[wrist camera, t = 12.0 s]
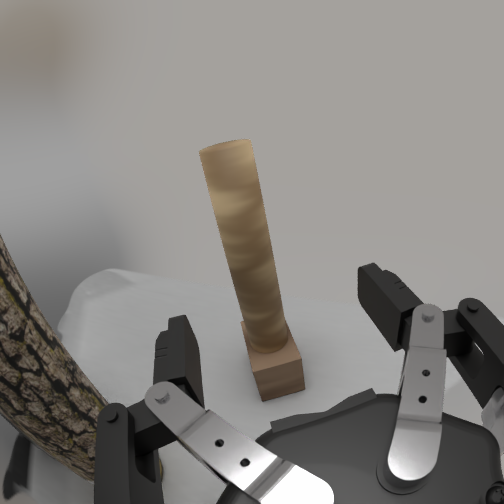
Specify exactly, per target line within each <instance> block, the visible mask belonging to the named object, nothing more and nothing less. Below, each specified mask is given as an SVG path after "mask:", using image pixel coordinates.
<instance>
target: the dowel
mask: <svg viewBox="0 0 504 504" xmlns="http://www.w3.org/2000/svg"><path fill="white" fill-rule="evenodd" d="M199 154H200V158H201V162H202V166H203V170H204V174H205V178H206V182H207V186H208V190H209V194H210V198H211V202H212V206H213V209H214V213H215V217H216V220H217V225H218V228H219V232H220V236H221V239H222V243H223V247H224V251H225V254H226V258H227V262H228V265H229V269H230V273H231V277H232V280H233V284H234V287H235V291H236V295H237V298H238V302H239V305H240V309H241V312H242V316H243V319H244V323H245V326H246V330H247V333H248V337H249V340H250V344H251V346H252V348H253V349H254V350H256V351H257V352H260V353H272V352H276V351H278V350H280V349H281V348H282V347H284V346H285V344H286V343H287V340H288V335H287V329H286V323H285V317H284V312H283V306H282V300H281V295H280V290H279V284H278V279H277V273H276V268H275V262H274V257H273V251H272V246H271V241H270V235H269V230H268V225H267V220H266V214H265V209H264V204H263V199H262V194H261V189H260V184H259V179H258V174H257V169H256V164H255V159H254V154H253V149H252V144H251V140H249V139H242V140H234V141H228V142H223V143H219V144H216V145H212V146H209V147H207V148H204V149H202V150H200V151H199Z"/></svg>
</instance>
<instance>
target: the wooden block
mask: <svg viewBox="0 0 504 504" xmlns="http://www.w3.org/2000/svg"><path fill="white" fill-rule="evenodd" d="M285 323H286V320H285ZM241 326H242V330H243V334H244V338H245V342H246V346H247V351H248V355H249V359H250V363H251V367H252V371H253V374H254V377H255V380H256V384H257V387H258V390H259V393H260V396H261V399H262V401H266V400H270V399H273V398H277V397H281V396H284V395H288V394H291V393H295V392H298V391H301V390H304V389H305V383H304V375H303V367H302V359H301V356H300V354H299V351H298V349H297V347H296V344H295V342H294V339H293V337H292V335H291V332H290V330H289V327H288V325H287V323H286V329H287V335H288V340H287V343H286V344H285V346H284V347H282V348H281V349H280V350H278V351H276V352H272V353H260V352H257V351H256V350H254V349H253V348H252V346H251V344H250V340H249V337H248V333H247V330H246V326H245V323H244V321H242V322H241Z"/></svg>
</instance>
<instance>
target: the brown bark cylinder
mask: <svg viewBox="0 0 504 504" xmlns="http://www.w3.org/2000/svg"><path fill="white" fill-rule="evenodd" d="M108 404H109V403H108V402H107V401H106V400H105V399H104V397H103V396H102V395H101V394H100V393H99V391H98V390H97V389H96V388H95V387H94V385H93V384H92V383H91V382H90V380H89V379H88V378H87V377H86V375H85V374H84V373H83V372H82V370H81V369H80V368H79V366H78V365H77V364H76V362H75V361H74V360H73V358H72V357H71V356H70V354H69V353H68V351H67V350H66V349H65V347H64V346H63V344H62V343H61V341H60V340H59V339H58V337H57V336H56V334H55V333H54V331H53V330H52V328H51V327H50V325H49V324H48V322H47V320H46V319H45V317H44V316H43V314H42V313H41V311H40V309H39V307H38V306H37V304H36V302H35V301H34V299H33V297H32V296H31V294H30V292H29V290H28V289H27V287H26V285H25V283H24V281H23V280H22V278H21V276H20V274H19V272H18V270H17V268H16V266H15V264H14V262H13V260H12V258H11V256H10V254H9V252H8V250H7V248H6V246H5V243H4V241H3V239H2V237H1V235H0V411H1V412H2V413H3V414H4V415H5V416H6V417H7V418H8V419H9V420H10V421H11V422H12V423H13V424H14V425H15V426H17V427H18V428H19V429H20V430H21V431H22V432H23V433H24V434H26V435H27V436H28V437H29V438H30V439H31V440H33V441H34V442H35V443H36V444H37V445H39V446H40V447H41V448H42V449H44V450H45V451H46V452H47V453H49V454H50V455H51V456H53V457H54V458H55V459H57V460H58V461H59V462H61V463H62V464H63V465H65V466H66V467H68V468H69V469H70V470H72V471H73V472H75V473H76V474H78V475H79V476H81V477H82V478H84V479H85V480H87V481H88V482H90V483H91V484H93V485H94V467H95V444H96V429H97V418H98V415H99V413H100V411H101V410H102V409H103V408H104V407H105V406H107V405H108ZM159 464H160V474H162V467H161V462H160V459H159Z"/></svg>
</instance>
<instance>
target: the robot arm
mask: <svg viewBox="0 0 504 504" xmlns="http://www.w3.org/2000/svg"><path fill="white" fill-rule="evenodd" d="M358 299H359V302H360V304H361V306H362V307H363V309H364V310H365V311H366V313H367V314H368V315H369V317H370V318H371V320H372V321H373V322H374V324H375V325H376V326H377V328H378V329H379V331H380V332H381V333H382V335H383V336H384V338H385V339H386V340H387V342H388V343H389V345H390V346H391V347H392V349H393V350H394V352H396V351H398V350H400V349H402V348H403V349H404V351H405V355H404V361H403V367H402V372H401V378H400V383H399V388H398V392H397V395H395V394H375V392H374V391H373V389H372V388H371V389H368V390H366V391H363V392H361V393H358V394H356V395H353V396H350V397H348V398H346V399H345V400H343V401H342V402H340V403H339V404H337V405H336V406H334V407H332V408H331V409H329V410H327V411H325V412H320V413H310V414H298V415H293V416H290V417H286V418H283V419H279V420H276V421H272V422H270V424H271V427H272V429H270V430H269V431H267V432H265V433H264V434H262V435H261V436H260V437H258V438H257V439H256V440H255V441H253V440H252V439H250V438H249V437H247V436H246V435H244V434H243V433H242V432H240V431H239V430H237V429H236V428H235V427H233V426H232V425H230V424H229V423H228V422H226V421H225V420H224V419H222V418H221V417H220V416H218V415H217V414H216V413H214V412H213V411H211V410H207V411H206V410H205V407H204V397H203V387H202V376H201V365H200V353H199V347H198V343H197V340H196V337H195V335H194V333H193V330H192V328H191V326H190V323H189V321H188V319H187V317H186V315H181V316H177V317H172V318H169V322H168V330H167V331H162V332H160V334H159V336H158V338H157V340H156V345H155V359H154V376H153V386H151V387H150V388H149V389H148V391H147V392H146V395H145V399H143V400H142V401H140V402H138V403H136V404H134V405H132V406H129V407H127V408H126V407H125V406H124V405H122V404H120V403H111V404H108V405H107V406H105V407H104V408H103V409H102V410H101V411H100V413H99V415H98V418H97V429H96V444H95V467H94V504H164V499H163V491H162V483H161V474H160V464H159V454H158V448H161V447H163V446H165V445H167V444H170V443H172V442H174V441H177V442H178V443H180V444H181V445H182V446H183V447H184V448H185V449H186V450H187V451H188V452H189V453H190V454H191V455H192V456H194V457H195V458H196V459H197V460H198V461H199V462H200V463H201V464H203V465H204V466H205V467H206V468H207V469H208V470H209V471H210V472H211V473H212V474H214V475H215V476H216V477H217V478H218V479H219V480H221V481H222V482H223V483H224V484H226V485H227V486H226V488H225V490H224V491H223V493H222V495H221V496H220V498H219V500H218V501H217V503H216V504H504V479H503V475H502V470H501V461H500V456H501V455H502V454H504V325H503V324H502V323H501V322H500V321H499V320H498V319H497V318H496V317H495V315H493V313H492V312H491V311H490V310H489V309H488V308H487V307H486V306H485V305H484V304H483V303H482V302H481V301H479V300H477V299H474V298H466V299H463V300H462V301H460V303H459V305H458V309H454V310H448V311H442V310H441V309H440V308H439V307H437V306H435V305H432V304H424V303H423V302H422V301H421V300H420V299H419V298H418V297H417V296H416V295H415V294H414V293H413V292H412V291H411V290H410V289H409V288H408V287H407V286H406V285H405V284H404V283H403V282H402V281H401V279H400V278H399V277H398V276H397V275H396V274H394V273H392V272H390V271H388V270H384V271H382V270H381V269H380V268H379V267H378V266H377V265H376V264H375V263H371V264H368V265H364V266H362V267H359V268H358ZM475 343H476V344H477V345H478V347H479V348H480V349H481V350H482V352H483V354H484V355H483V354H482V352H481V351H480V350H479V349H478V347H477V346H476V345H475ZM446 357H448V358H449V359H450V361H451V362H452V364H453V365H454V366H455V368H456V369H457V371H458V372H459V374H460V375H461V377H462V378H463V380H464V381H465V383H466V384H467V386H468V387H469V389H470V390H471V392H472V393H473V395H474V396H475V398H476V399H477V401H478V402H479V404H480V406H481V407H482V409H483V411H482V415H481V417H482V422H483V426H480V425H477V424H474V423H471V422H469V421H466V420H463V419H460V418H457V417H454V416H452V415H449V414H446V413H444V412H442V409H443V399H444V388H445V374H446ZM0 415H1V416H2V417H3V418H4V419H6V420H7V421H8V422H9V423H10V424H11V425H12V426H13V427H14V428H15V429H16V430H17V431H19V432H20V433H21V434H22V435H23V436H24V437H25V438H27V439H28V440H29V441H30V442H31V443H33V444H34V445H35V446H36V447H38V448H39V449H42V448H41V447H40V446H39V445H37V444H36V443H35V442H34V441H33V440H31V439H30V438H29V437H28V436H27V435H26V434H24V433H23V432H22V431H21V430H20V429H19V428H18V427H17V426H15V425H14V424H13V423H12V422H11V421H10V420H9V419H8V418H7V417H6V416H5V415H4V414H3V413H2V412H1V411H0ZM42 450H43V451H45V450H44V449H42ZM45 452H46V451H45ZM46 453H47V452H46ZM47 454H48V455H50V454H49V453H47ZM50 456H51V455H50ZM51 457H53V456H51ZM53 458H54V457H53Z"/></svg>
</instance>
